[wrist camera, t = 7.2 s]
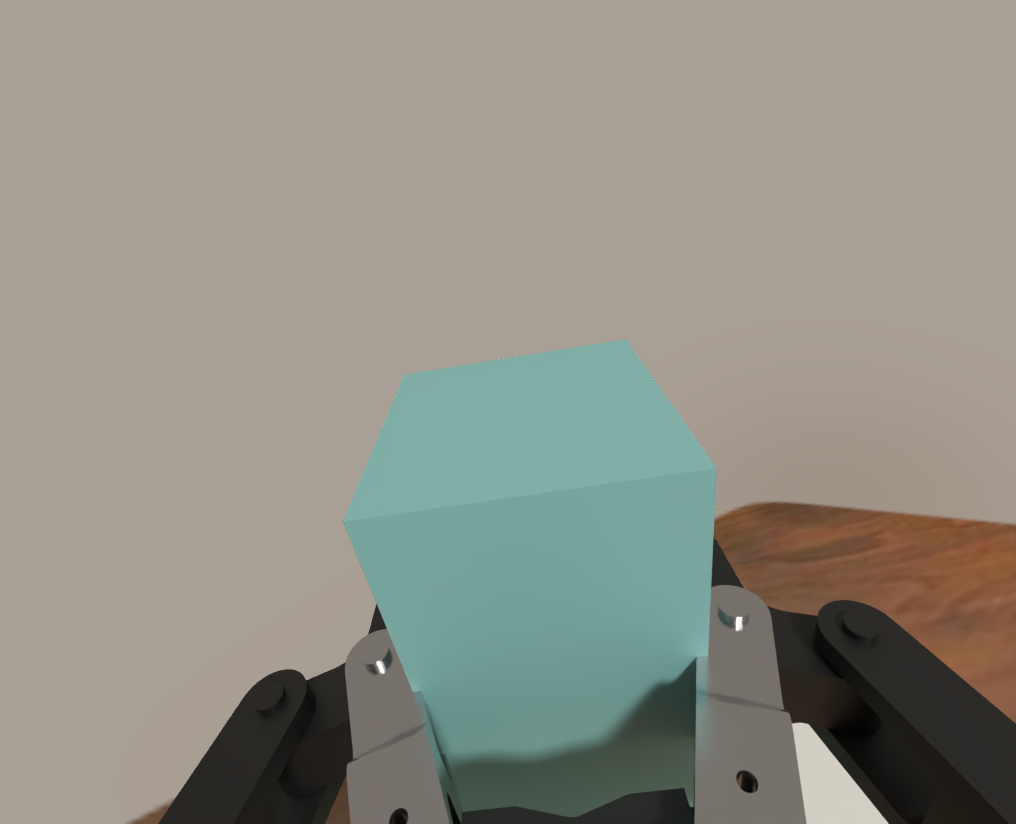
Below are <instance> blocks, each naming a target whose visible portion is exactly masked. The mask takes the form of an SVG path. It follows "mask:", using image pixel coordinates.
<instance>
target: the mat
mask: <svg viewBox="0 0 1016 824" xmlns="http://www.w3.org/2000/svg"><path fill="white" fill-rule="evenodd" d="M792 727H793V733H794V740H795V747H796V754H797V761H798V768H799V775H800V782H801V788H802V795H803V802H804V809H805V816H806V823H807V824H888V822H887V821H886V820H885V819H884V817H883V816H882V815H881V814H880V812H879V811H878V810H877V809H876V807H875V806H874V805H873V804H872V802H871V801H870V800H869V799H868V798H867V796H866V795H865V794H864V793H863V791H862V790H861V789H860V788H859V786H858V785H857V784H856V783H855V781H854V780H853V779H852V778H851V776H850V775H849V774H848V773H847V771H846V770H845V769H844V768H843V766H842V765H841V764H840V763H839V762H838V760H837V759H836V758H835V757H834V755H833V754H832V753H831V752H830V750H829V749H828V748H827V747H826V745H825V744H824V743H823V742H822V740H821V739H820V738H819V737H818V735H817V734H816V733H815V732H814V731H813V729H812V728H811V727H810V725H809V724H805V723H794V724H792Z"/></svg>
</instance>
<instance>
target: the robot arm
mask: <svg viewBox="0 0 1016 824" xmlns="http://www.w3.org/2000/svg"><path fill="white" fill-rule="evenodd" d="M791 721H796V722H800V723H805V724H809V725H810V727H811V728H812V729H813V731H814V732H815V733H816V734H817V735H818V737H819V738H820V739H821V740H822V742H823V743H824V744H825V745H826V747H827V748H828V749H829V750H830V752H831V753H832V754H833V755H834V757H835V758H836V759H837V760H838V762H839V763H840V764H841V765H842V766H843V768H844V769H845V770H846V771H847V773H848V774H849V775H850V776H851V778H852V779H853V780H854V781H855V783H856V784H857V785H858V786H859V788H860V789H861V790H862V791H863V793H864V794H865V795H866V796H867V798H868V799H869V800H870V801H871V802H872V804H873V805H874V806H875V807H876V809H877V810H878V811H879V812H880V814H881V815H882V816H883V817H884V819H885V820H886V821H887V822H888V824H1016V724H1015V723H1014V722H1013V721H1012V720H1011V719H1009V718H1008V717H1007V716H1006V715H1005V714H1003V713H1002V712H1001V711H1000V710H999V709H998V708H996V707H995V706H994V705H993V704H992V703H990V702H989V701H988V700H987V699H986V698H985V697H983V696H982V695H981V694H980V693H979V692H977V691H976V690H975V689H974V688H973V687H971V686H970V685H969V684H968V683H967V682H966V681H964V680H963V679H962V678H961V677H960V676H958V675H957V674H956V673H955V672H954V671H952V670H951V669H950V668H949V667H948V666H947V665H945V664H944V663H943V662H942V661H941V660H939V659H938V658H937V657H936V656H935V655H934V654H932V653H931V652H930V651H929V650H928V649H926V648H925V647H924V646H923V645H922V644H920V643H919V642H918V641H917V640H916V639H915V638H913V637H912V636H911V635H910V634H909V633H907V632H906V631H905V630H904V629H903V628H901V627H900V626H899V625H898V624H897V623H896V622H894V621H893V620H892V619H891V618H890V617H888V616H887V615H886V614H884V613H882V612H881V611H879V610H877V609H875V608H873V607H871V606H869V605H866V604H863V603H859V602H855V601H848V600H840V601H834V602H830V603H828V604H826V605H825V606H823V607H822V608H821V610H820V611H819V613H818V616H813V615H806V614H799V613H792V612H786V611H781V610H777V609H774V608H771V607H769V606H766V604H765V603H764V602H763V601H762V600H761V599H760V598H759V597H758V596H757V595H755V594H754V593H752V592H750V591H748V590H746V589H744V587H743V586H742V584H741V583H740V581H739V579H738V577H737V576H736V574H735V572H734V570H733V569H732V567H731V565H730V563H729V562H728V560H727V558H726V556H725V555H724V553H723V551H722V549H721V548H720V546H719V544H718V542H717V541H716V540H715V539H714V535H713V556H712V579H711V601H710V624H709V646H708V656H700V657H697V659H696V712H695V731H694V785H693V807H690V806H689V803H688V800H687V796H686V793H685V789H684V788H678V789H669V790H659V791H650V792H641V793H632V794H627V795H625V796H623V797H620V798H618V799H616V800H614V801H611V802H609V803H607V804H605V805H602V806H600V807H598V808H596V809H593V810H591V811H589V812H587V813H584V814H582V815H580V816H577V817H565V816H560V815H556V814H551V813H546V812H541V811H536V810H532V809H527V808H522V807H517V806H512V807H503V808H494V809H485V810H476V811H466V812H463V809H462V806H461V803H460V800H459V796H458V793H457V789H456V785H455V781H454V778H453V774H452V770H451V767H450V764H449V761H448V759H447V756H446V754H440V753H439V750H438V747H437V744H436V741H435V737H434V733H433V730H432V726H431V722H430V718H429V714H428V710H427V706H426V704H425V701H424V699H423V696H422V693H421V691H415V692H413V691H412V689H411V686H410V684H409V681H408V679H407V676H406V674H405V671H404V669H403V667H402V664H401V662H400V659H399V657H398V654H397V652H396V649H395V647H394V645H393V642H392V640H391V637H390V635H389V632H388V630H387V628H386V625H385V623H384V620H383V618H382V615H381V613H380V610H379V608H378V606H377V604H376V608H375V612H374V615H373V619H372V623H371V627H370V630H369V634H368V635H367V636H365V637H364V638H362V639H361V640H360V641H359V642H358V643H357V644H356V645H355V646H354V647H353V649H352V650H351V651H350V653H349V655H348V657H347V660H346V662H345V663H344V664H342V665H340V666H339V667H337V668H334V669H332V670H330V671H327V672H325V673H323V674H320V675H318V676H316V677H313V678H311V679H309V680H305V678H304V676H303V675H302V674H301V673H300V672H298V671H296V670H288V669H287V670H281V671H277V672H274V673H272V674H270V675H268V676H266V677H264V678H263V679H262V680H260V681H259V682H258V683H257V684H255V685H254V686H253V687H252V688H251V689H250V690H249V691H248V693H247V694H246V695H245V696H244V698H243V699H242V701H241V702H240V704H239V706H238V707H237V708H236V710H235V711H234V713H233V714H232V716H231V717H230V719H229V720H228V721H227V723H226V725H225V726H224V727H223V729H222V730H221V732H220V733H219V735H218V736H217V738H216V740H215V741H214V742H213V744H212V745H211V747H210V748H209V750H208V751H207V753H206V754H205V756H204V757H203V758H202V760H201V761H200V763H199V764H198V766H197V767H196V769H195V770H194V772H193V773H192V775H191V776H190V778H189V779H188V781H187V782H186V784H185V785H184V787H183V788H182V789H181V791H180V792H179V794H178V795H177V797H176V798H175V800H174V801H173V803H172V804H171V806H170V807H169V809H168V810H167V812H166V813H165V815H164V816H163V818H162V819H161V821H160V822H159V824H325V821H326V819H327V817H328V815H329V812H330V810H331V808H332V805H333V803H334V801H335V798H336V796H337V794H338V792H339V789H340V787H341V785H342V782H343V780H344V778H345V776H347V787H348V799H349V811H350V823H351V824H807V823H806V816H805V809H804V802H803V795H802V788H801V782H800V775H799V768H798V761H797V754H796V747H795V740H794V733H793V727H792V722H791Z"/></svg>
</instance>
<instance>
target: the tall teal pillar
mask: <svg viewBox="0 0 1016 824" xmlns="http://www.w3.org/2000/svg"><path fill="white" fill-rule="evenodd" d="M715 488H716V467H715V465H714V464H713V462H712V461H711V460H710V458H709V457H708V455H707V454H706V452H705V451H704V450H703V448H702V447H701V445H700V444H699V443H698V441H697V440H696V438H695V437H694V435H693V434H692V433H691V431H690V430H689V428H688V427H687V425H686V424H685V423H684V421H683V420H682V418H681V417H680V415H679V414H678V413H677V411H676V410H675V408H674V407H673V406H672V404H671V403H670V401H669V400H668V399H667V397H666V396H665V394H664V393H663V391H662V390H661V388H660V387H659V386H658V384H657V383H656V381H655V380H654V379H653V377H652V376H651V374H650V373H649V371H648V370H647V369H646V367H645V366H644V364H643V363H642V361H641V360H640V359H639V357H638V356H637V354H636V353H635V351H634V350H633V349H632V347H631V346H630V345H629V343H628V341H627V340H626V339H625V340H619V341H613V342H606V343H600V344H594V345H588V346H582V347H575V348H569V349H563V350H556V351H550V352H544V353H538V354H531V355H525V356H519V357H512V358H506V359H500V360H494V361H487V362H481V363H475V364H469V365H463V366H456V367H450V368H443V369H437V370H431V371H425V372H418V373H412V374H406V375H404V377H403V379H402V382H401V384H400V386H399V389H398V391H397V393H396V396H395V398H394V401H393V403H392V405H391V408H390V410H389V413H388V415H387V418H386V420H385V422H384V425H383V427H382V429H381V432H380V434H379V437H378V439H377V442H376V444H375V446H374V449H373V451H372V453H371V456H370V459H369V461H368V463H367V466H366V468H365V470H364V473H363V475H362V478H361V480H360V483H359V485H358V487H357V490H356V492H355V495H354V497H353V499H352V502H351V504H350V507H349V509H348V511H347V514H346V516H345V518H344V521H343V522H344V525H345V527H346V530H347V532H348V535H349V537H350V540H351V542H352V544H353V547H354V549H355V552H356V554H357V557H358V559H359V562H360V564H361V566H362V569H363V571H364V574H365V576H366V579H367V581H368V584H369V586H370V588H371V591H372V593H373V596H374V598H375V601H376V603H377V606H378V608H379V610H380V613H381V615H382V618H383V620H384V623H385V625H386V628H387V630H388V632H389V635H390V637H391V640H392V642H393V645H394V647H395V649H396V652H397V654H398V657H399V659H400V662H401V664H402V667H403V669H404V671H405V674H406V676H407V679H408V681H409V684H410V686H411V689H412V691H413V692H415V691H421V693H422V696H423V699H424V701H425V704H426V706H427V710H428V714H429V718H430V722H431V726H432V730H433V733H434V737H435V741H436V744H437V747H438V750H439V753H440V754H446V756H447V759H448V761H449V764H450V767H451V770H452V774H453V778H454V781H455V785H456V789H457V793H458V796H459V800H460V803H461V806H462V809H463V812H466V811H476V810H485V809H494V808H503V807H512V806H517V807H522V808H527V809H532V810H536V811H541V812H546V813H551V814H556V815H560V816H565V817H577V816H580V815H582V814H584V813H587V812H589V811H591V810H593V809H596V808H598V807H600V806H602V805H605V804H607V803H609V802H611V801H614V800H616V799H618V798H620V797H623V796H625V795H627V794H632V793H641V792H650V791H659V790H669V789H678V788H684V789H685V793H686V796H687V800H688V803H689V806H690V807H693V785H694V731H695V712H696V659H697V657H700V656H708V646H709V624H710V601H711V579H712V556H713V534H714V511H715Z"/></svg>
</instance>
